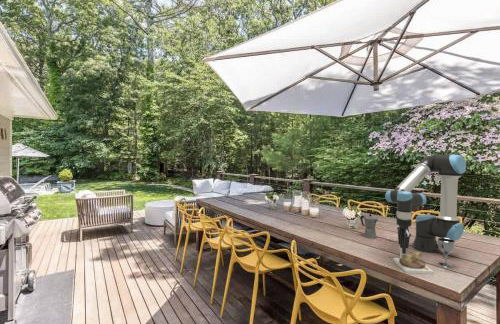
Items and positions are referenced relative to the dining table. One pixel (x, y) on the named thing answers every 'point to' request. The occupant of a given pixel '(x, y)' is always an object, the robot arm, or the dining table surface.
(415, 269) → the base plate
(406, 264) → the capstan dial
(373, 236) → the coffeepot
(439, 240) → the wine glass
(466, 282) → the dining table surface
